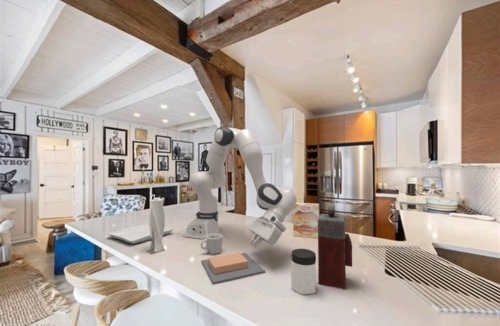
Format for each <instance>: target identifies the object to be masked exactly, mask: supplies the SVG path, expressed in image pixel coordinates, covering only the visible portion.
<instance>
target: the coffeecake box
mask: <svg viewBox="0 0 500 326" xmlns="http://www.w3.org/2000/svg"><path fill="white" fill-rule="evenodd" d="M292 211H293V212H292V213H293V214H292V215H293V217H292V218H293V219H292V224H293V225H292V226H293V227H292V228H293V230H292V231H293V233H292V234H293V237H298V238H308V239H316V240H318V219H319V216H320V203H314V202H313V203H311V202H296V204H295V206H294V208H293V209H292Z"/></svg>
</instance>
